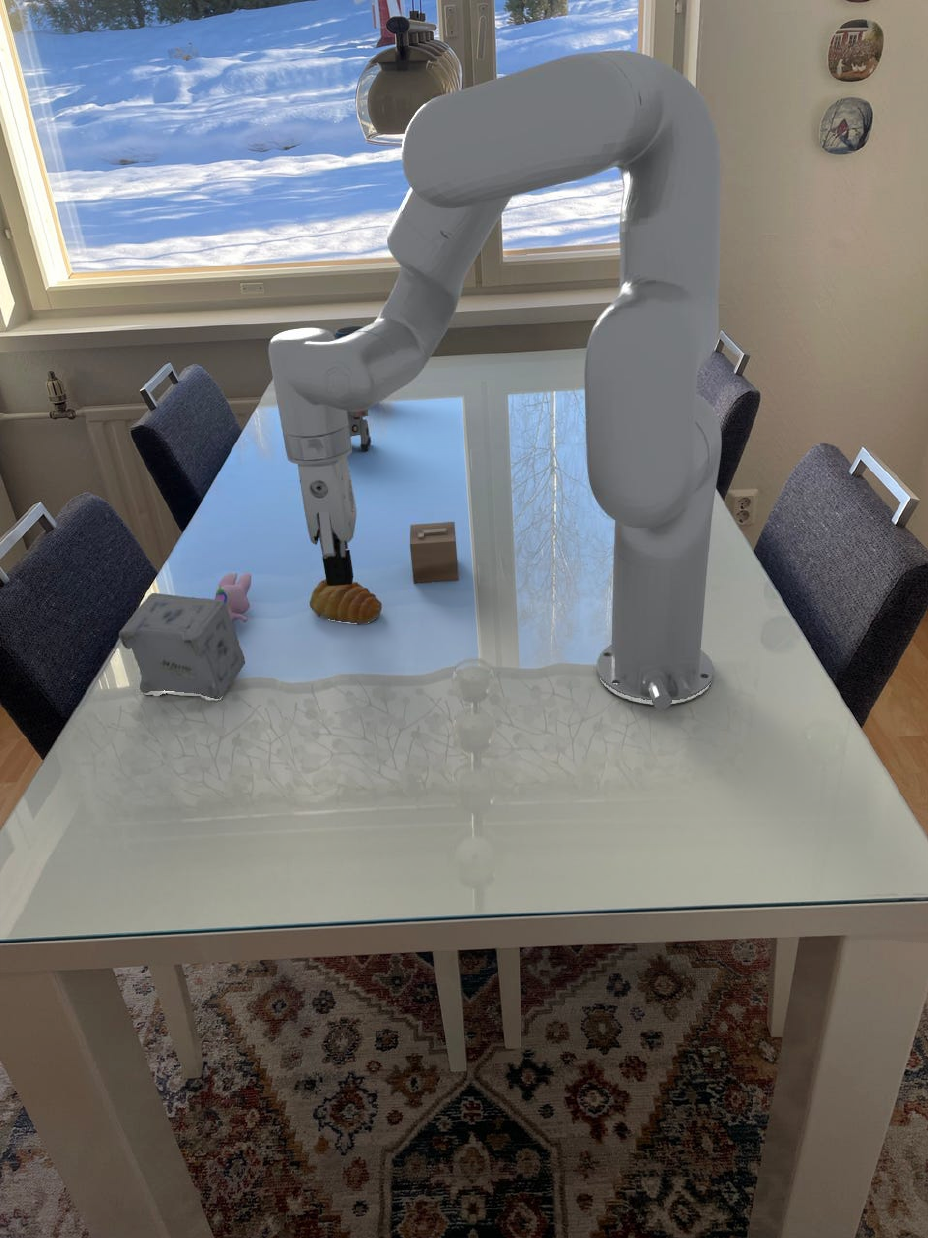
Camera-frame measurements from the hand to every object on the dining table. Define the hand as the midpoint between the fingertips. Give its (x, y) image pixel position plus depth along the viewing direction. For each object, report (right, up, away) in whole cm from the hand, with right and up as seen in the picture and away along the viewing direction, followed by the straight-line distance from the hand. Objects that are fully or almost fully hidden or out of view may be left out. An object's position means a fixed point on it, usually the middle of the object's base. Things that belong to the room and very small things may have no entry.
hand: (340, 582), depth 117 cm
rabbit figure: (-15, -5, +4) cm, 16 cm away
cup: (-6, +40, +78) cm, 88 cm away
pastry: (0, -4, +4) cm, 6 cm away
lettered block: (+12, +2, +11) cm, 16 cm away
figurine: (-6, +27, +57) cm, 64 cm away
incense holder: (-16, -13, -9) cm, 22 cm away
